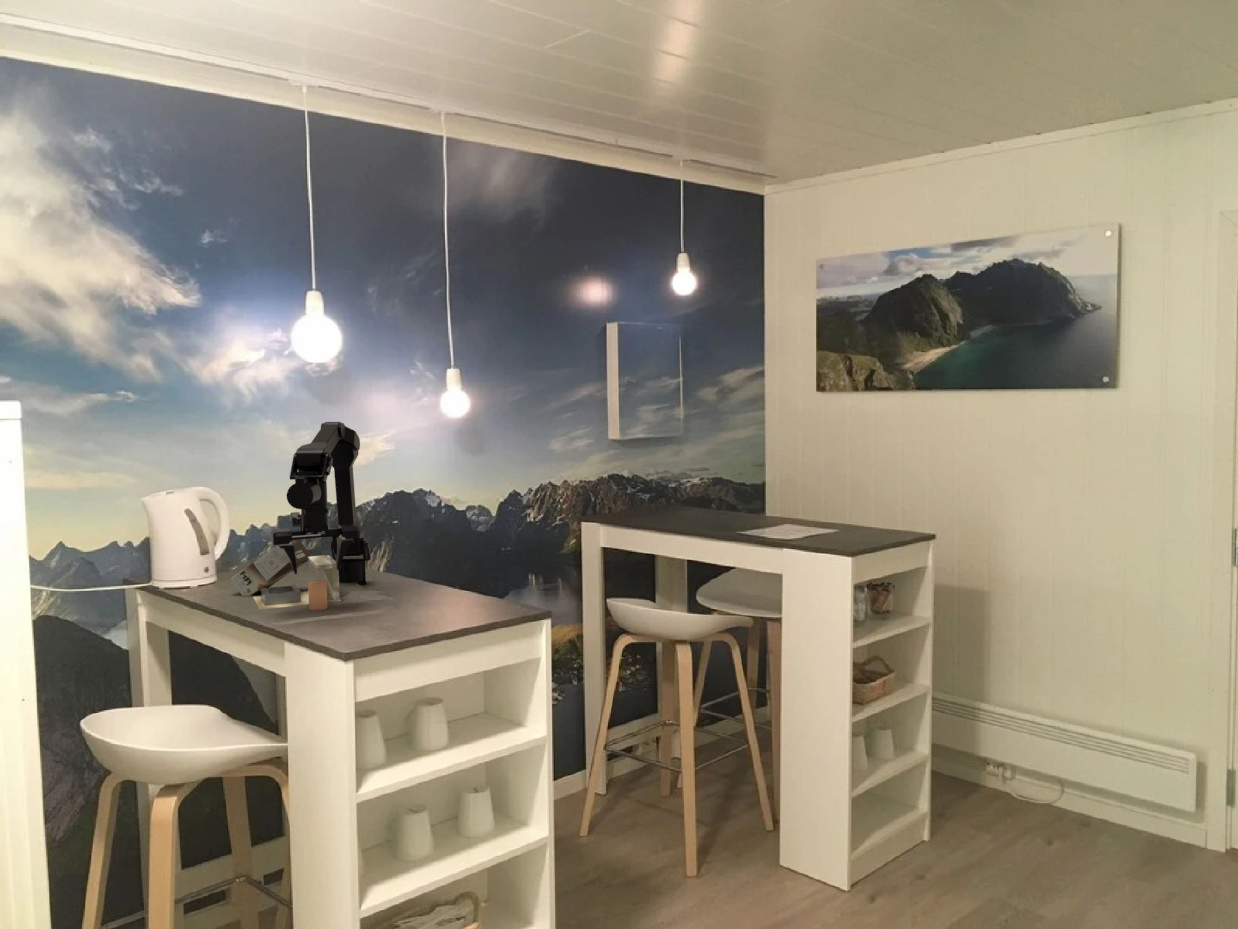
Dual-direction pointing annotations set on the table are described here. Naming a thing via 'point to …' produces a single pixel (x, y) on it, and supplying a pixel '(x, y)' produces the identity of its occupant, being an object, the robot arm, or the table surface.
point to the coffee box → (269, 569)
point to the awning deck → (316, 563)
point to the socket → (280, 595)
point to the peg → (317, 595)
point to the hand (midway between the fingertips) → (316, 571)
